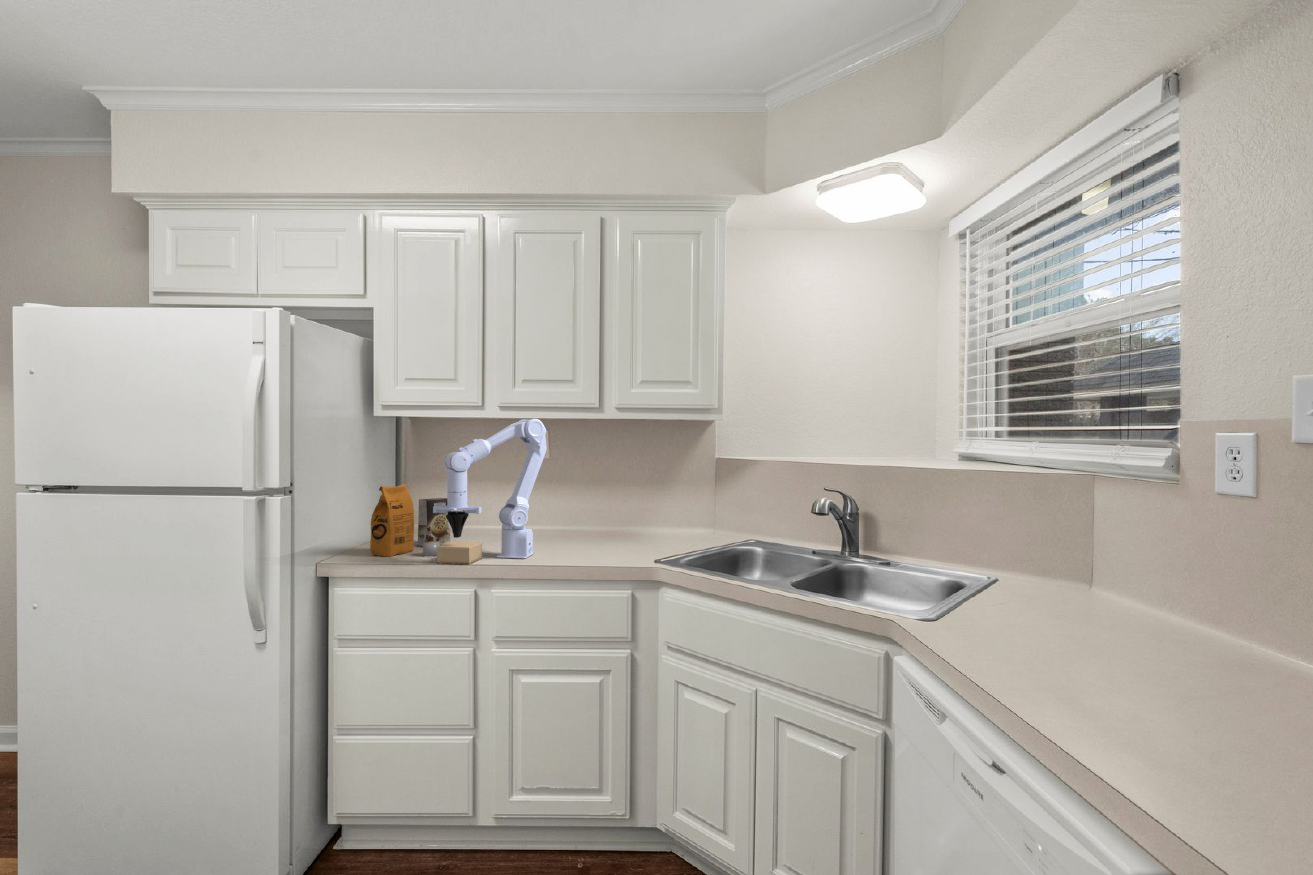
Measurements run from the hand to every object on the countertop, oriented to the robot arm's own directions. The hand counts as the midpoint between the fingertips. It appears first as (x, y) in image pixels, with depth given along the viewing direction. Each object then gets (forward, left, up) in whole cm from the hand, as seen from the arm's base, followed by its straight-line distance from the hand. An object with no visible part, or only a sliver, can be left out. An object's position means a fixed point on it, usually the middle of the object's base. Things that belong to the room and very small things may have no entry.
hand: (457, 537), depth 181 cm
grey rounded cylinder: (+13, -9, -8) cm, 18 cm away
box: (0, -2, -8) cm, 8 cm away
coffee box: (+21, -26, -8) cm, 34 cm away
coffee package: (+27, -10, -8) cm, 30 cm away
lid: (0, -2, -3) cm, 4 cm away
